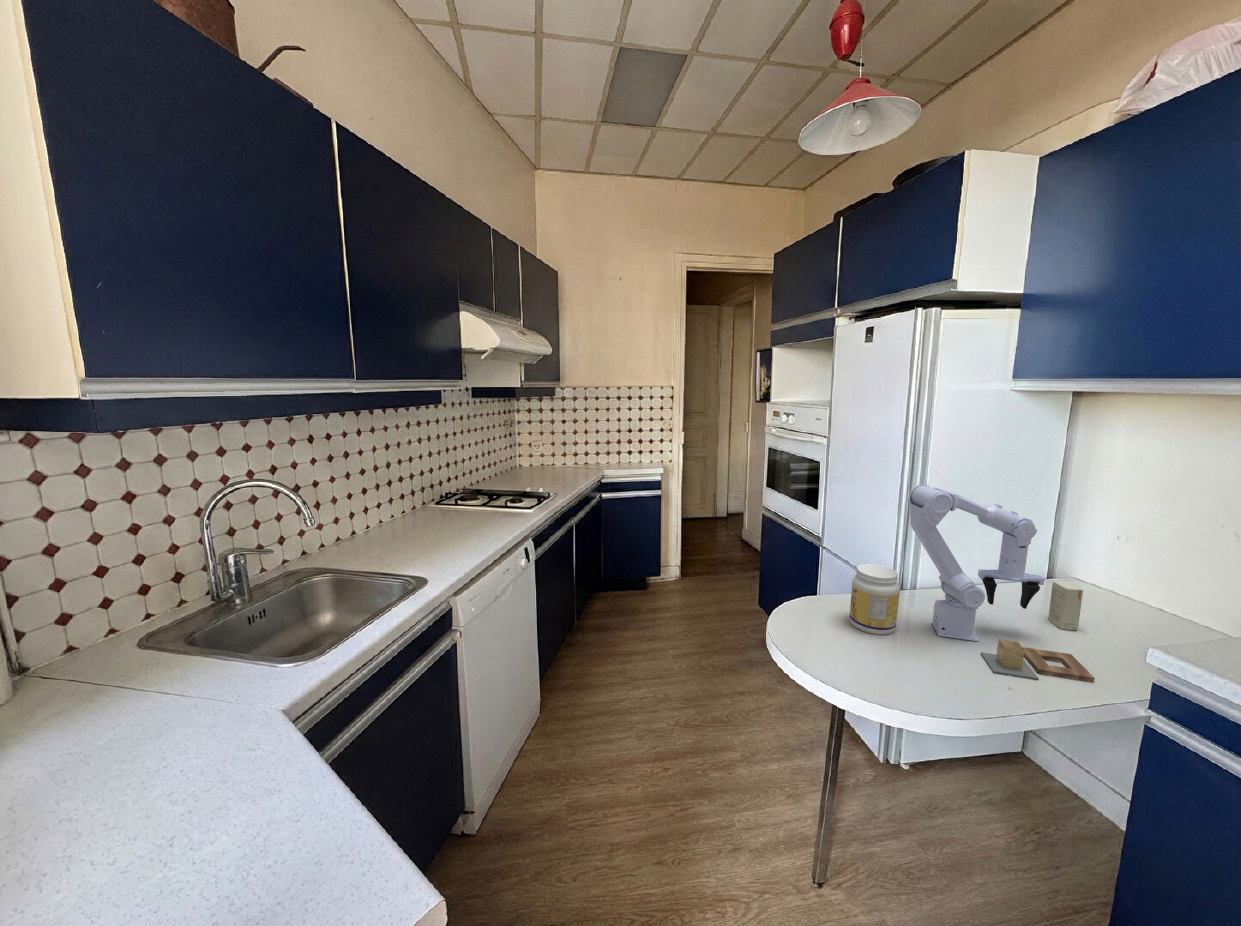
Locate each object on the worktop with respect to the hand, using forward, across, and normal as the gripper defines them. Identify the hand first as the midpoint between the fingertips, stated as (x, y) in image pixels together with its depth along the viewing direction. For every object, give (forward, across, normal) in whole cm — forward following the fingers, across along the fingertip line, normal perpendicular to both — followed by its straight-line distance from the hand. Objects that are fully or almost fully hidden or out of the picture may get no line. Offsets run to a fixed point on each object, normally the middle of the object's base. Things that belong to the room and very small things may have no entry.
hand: (1006, 605), depth 138 cm
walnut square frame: (+8, +6, -15) cm, 18 cm away
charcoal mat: (+8, -5, -19) cm, 21 cm away
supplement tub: (+9, -34, -7) cm, 36 cm away
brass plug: (+8, -5, -19) cm, 21 cm away
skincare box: (+9, +18, +11) cm, 23 cm away
